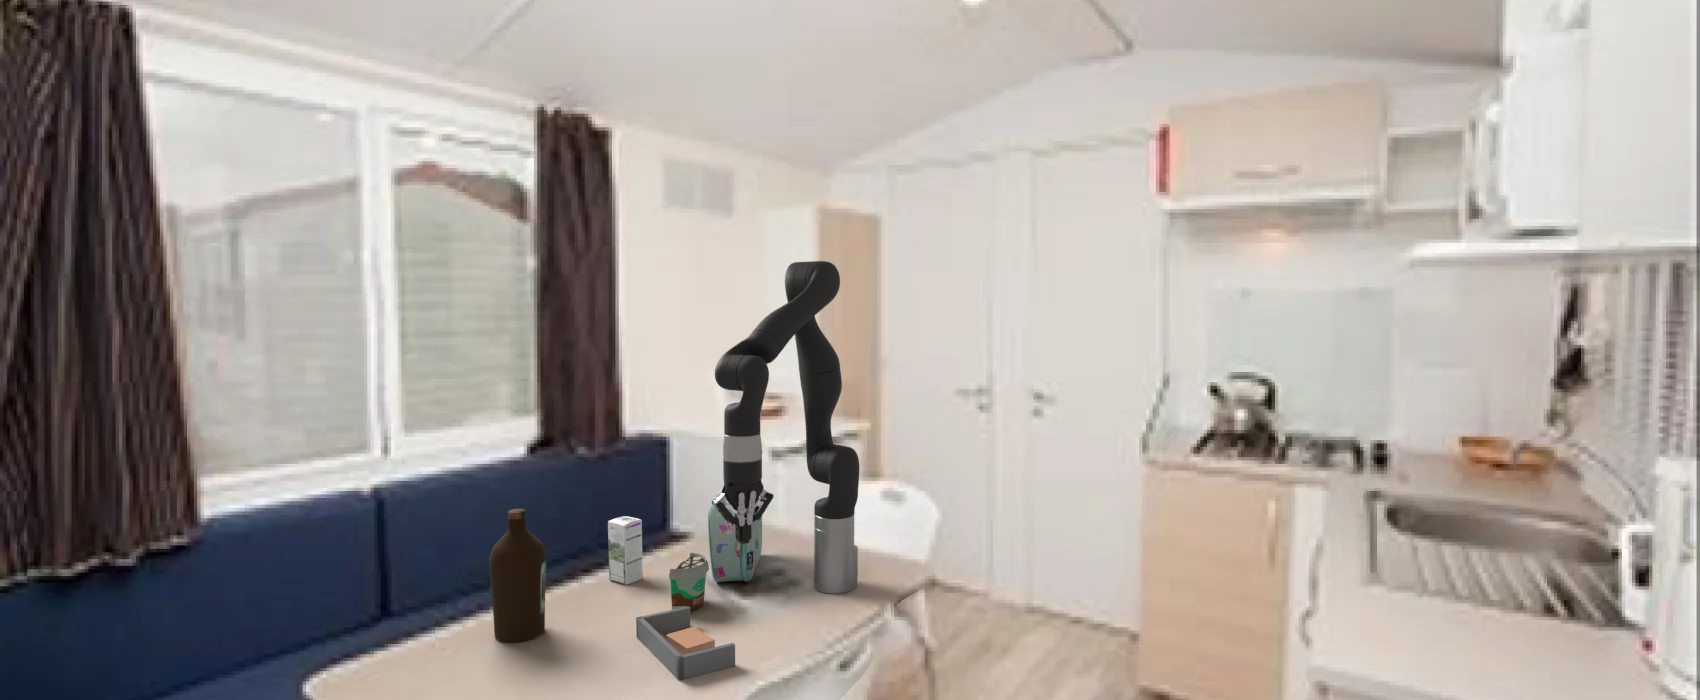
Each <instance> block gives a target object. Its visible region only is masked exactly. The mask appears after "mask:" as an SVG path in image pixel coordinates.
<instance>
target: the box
mask: <svg viewBox="0 0 1700 700" xmlns="http://www.w3.org/2000/svg"><path fill="white" fill-rule="evenodd" d="M635 620H636V623H635V625H636V638H637V639H638V640H639V641H640V642H641V643H642V644H643V645H644V646H645V647H646V648H647V649H648V651H650V652H651V654H652V655H653V656H654V657H656V659H657V660H658V661H659V662H660V663H661V664H662V665H663V666H664V667H665V668H666V669H667V670H668V671H669V672H670V673H671V674H672V675H673V676H674V677H675V678H676V679H677V680H678V681H682V680H686V679H689V677H690V678H694V677H697V675H698V676H700V675H704V674H705V675H706V674H708V673H709V674H710V673H713V672H716V671H721V670H723V669H724V668H725V669H728V668H731V667H730V666H732V667H735V666H736V644H735V643H734V642H730V643H726V644H722V645H718V646H715V647H713V648H709V649H705V650H701V651H697V652H693V653H689V654H685V655H681V654H680V653H679V652H678V651H677V650H676V649H675V648H674V647H673V646H672V645H671V644H670V643H668V642H667V641H666V638H665V637H663V636H662V634H665V633H666V634H667V633H670V632H676V631H680V630H684V629H687V628H691V627H692V626H691V625H692V622H691V612H690V607H689V606H688V607H683V608H678V609H674V610H672V609H669V610H665V611H661V612H656V613H650V614H646V615H641V616H636V617H635ZM734 665H735V666H734ZM727 667H728V668H727ZM693 676H694V677H693ZM685 678H686V679H685Z"/></svg>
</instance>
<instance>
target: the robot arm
mask: <svg viewBox="0 0 1700 700" xmlns="http://www.w3.org/2000/svg"><path fill="white" fill-rule="evenodd" d="M840 285H841V277H840V273H839V270H838V267H836V265H835V264H833V263H832V262H831V261H825V260H815V261H795V262H792V263H790V264H789V266H787V269H786V270H785V274H784V289H785V295H786V296H785V297H786V300H787V303H785V304H783V305H782V306H780V307H778V308H777V309H774V310H773V311H772V312H770V313H769V314H768V315H766V316H765V317H764V318H763V319H762V320H761V321H759V323H758V325H757V326H756V327H755V328H754V329H753V330H752V331H751V333H750V334H749V336H747V337H746V338H745V339H743V340H741V341H740V342H738V343H737V344H735V345H734V346H732V347H731V348H730V349H728V350H726V352H725V353H723V354H722V356H721V357H720V358H719V359H718V362H717V363H716V365H715V369H714V378H715V382H716V384H717V385H718V386H719V387H720V388H722V389H724V390H727V391H736V392H737V391H738V392H742V395H741V399H740V401H739V402H737V401H736V402H733V403H730V404H727V405H726V406H725V408H724V411H723V428H724V430H723V433H724V434H723V435H724V436H723V437H724V438H723V442H722V443H723V445H722V452H723V453H722V455H723V457H722V460H723V461H722V462H723V464H722V465H723V466H722V467H723V468H722V469H723V478H722V479H723V486H722V488H723V489H722V488H721V489H722V494H721V495H720V496H719V497H718V498H717V499H714V498H712V500H711V502H712V504H713V506H714V507H715V508H716V509H717V510H718V512H719V513H720V514H721V515H722V516H723V518H724V519H725V520H726V521H727V522H730V523H731V524H733V525H734V524H735V538H736V540H737V541H738V542H739V543H740V544H746V543H749V540H751V525H752V523H753V522H754V521H756V520H759V519H760V518H761V516H762V517H763V514H765V511H766V510H767V509H768V507H769V505H770V504H771V502H772V500H773V499H774V498H775V497H774V494H773V493H771V492H769V491H767V490H766V489H765V488H764V484H763V482H762V478H763V448H762V447H763V444H762V437H761V436H762V435H761V411H762V408H763V404H764V400H765V396H766V391H767V387H768V384H769V381H770V372H769V371H770V370H769V367H768V364H771V363H772V362H774V361H775V359H777V357H778V356H779V355H780V354H781V352H782V351H783V350H784V349H785V347H786V346H787V344H788V343H789V342H790V341H791V340H792V338H793V337H794V340H795V345H796V351H797V352H796V355H797V360H798V363H797V364H798V373H799V380H800V387H801V393H802V400H803V412H804V420H805V421H804V422H805V450H806V451H805V452H806V456H805V457H806V467H807V470H808V475H810V477H811V478H812V479H813V480H814V481H816V482H819V483H821V484H826V485H829V489H828V496H826V497H821V498H819V499H817V500H816V501H815V502H814V509H813V511H814V513H813V514H814V517H813V520H814V522H813V523H814V524H813V526H814V527H813V531H814V532H813V533H814V536H813V539H814V540H813V547H814V549H813V553H814V555H813V556H814V557H813V561H814V563H813V564H814V565H813V587H814V589H815V590H816V591H818V592H821V593H825V594H843V593H844V594H845V593H847V592H850V591H852V590H853V589H854V588H857V587H858V585H859V584H858V581H859V580H858V579H859V575H858V573H859V572H858V570H859V567H858V566H859V563H858V561H859V553H858V552H859V548H858V546H857V545H855V514H856V512H855V510H856V509H855V508H856V505H857V502H858V497H859V482H860V458H859V455H858V453H857V452H856V450H855V449H854V448H852V447H849V446H846V445H842V444H835V443H834V441H833V437H832V435H833V434H832V418H833V414H834V411H835V409H836V406H837V404H838V402H839V399H840V397H841V394H842V390H843V383H842V381H843V380H842V372H841V365H840V364H841V363H840V359H839V358H840V357H838V354H837V352H836V351H835V349H834V347H833V346H832V344H831V343H830V340H828V338H827V337H826V336H825V334H824V333H823V331H822V330H821V328H820V326H819V324H818V322H817V319H816V315H817V314H819V312H821V311H822V310H823V309H824V308H825V307H827V305H829V304H830V303H831V302H833V300H834V299H835V298H836V297H837V294H838V293H839V291H840ZM758 498H759V500H758ZM726 500H727V501H728V502H729V504H730V505H731V506H732V512H733V515H732V514H731V513H730V512H729V510H728V509H727V508H726V506H727V503H726ZM757 500H758V502H757V503H756V501H757ZM755 503H756V505H755Z"/></svg>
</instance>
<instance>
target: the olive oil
mask: <svg viewBox="0 0 1700 700" xmlns="http://www.w3.org/2000/svg"><path fill="white" fill-rule="evenodd" d="M507 513H508V514H507V516H508V518H507V526H508V527H507V531H506V532H505V533H504V534H503V535H502V536H501V538H499V540H498V541H497V542H496V543H495V544H494V545H493V547H492V549H491V551H490V554H489V559H488V566H489V567H488V568H489V576H490V588H491V600H492V612H493V613H492V615H493V616H492V617H493V628H494V629H493V630H494V631H493V632H494V637H495V639H496V640H497V639H498V640H497V641H499V640H500V641H499V642H502V641H503V643H523V642H527V641H531V640H533V639H536V638H538V637H540V636H541V635H543V633H545V629H546V625H545V624H546V588H547V586H546V585H547V581H546V579H547V553H546V549H545V547H544V544H543V542H542V541H541V540H540V539H539V538H538V537H536V535H534V534H533V533H532V532H531V531H530V530H529V529H528V528H527V516H526V510H525V509H524V508H514V509H510V510H508V511H507Z"/></svg>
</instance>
